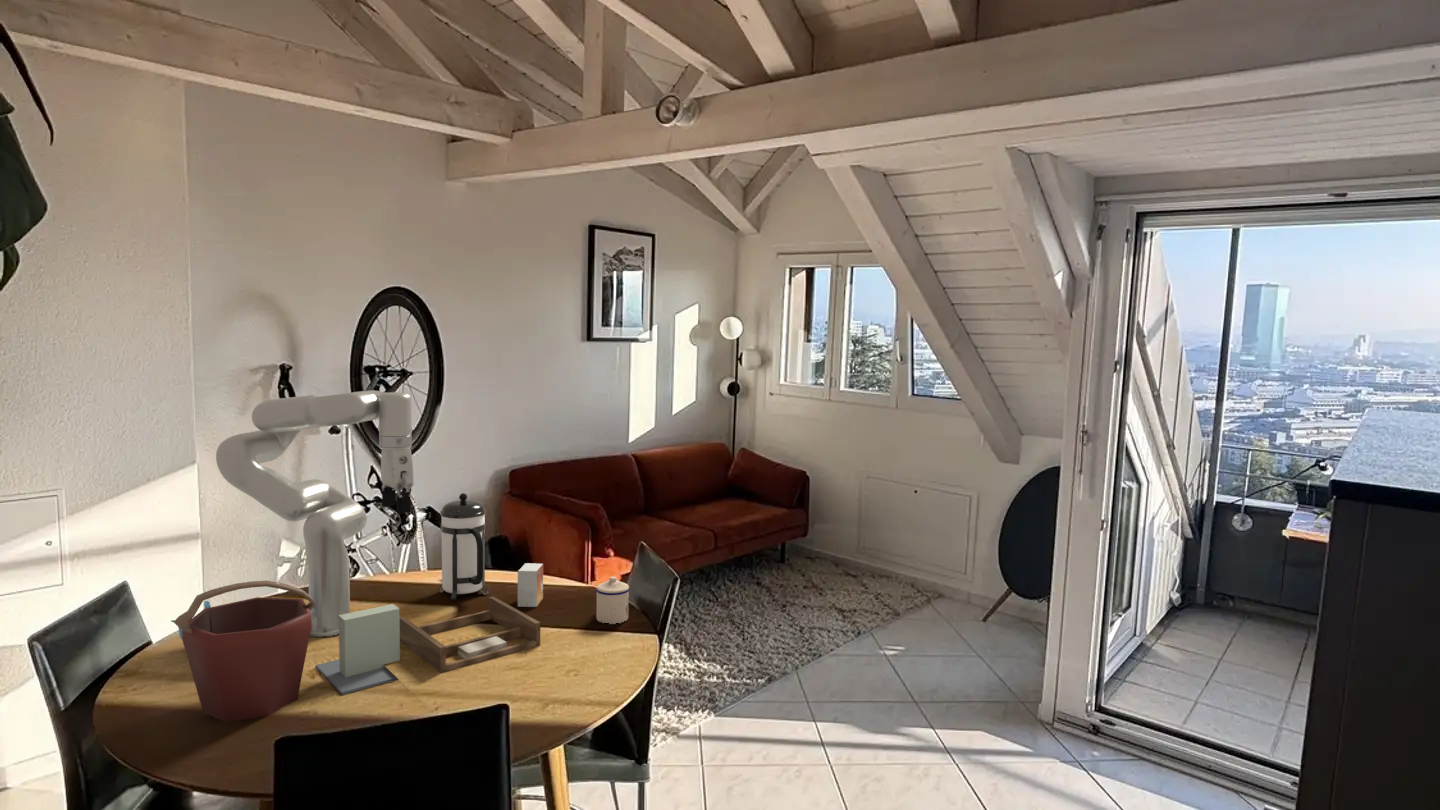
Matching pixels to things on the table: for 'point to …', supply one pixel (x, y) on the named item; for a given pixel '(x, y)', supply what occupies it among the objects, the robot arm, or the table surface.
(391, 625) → the pale green block
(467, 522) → the coffee press
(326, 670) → the mat
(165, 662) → the table surface
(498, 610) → the rack
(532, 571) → the small box
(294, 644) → the bucket
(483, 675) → the table surface
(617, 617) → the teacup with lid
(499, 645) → the offcut upper
